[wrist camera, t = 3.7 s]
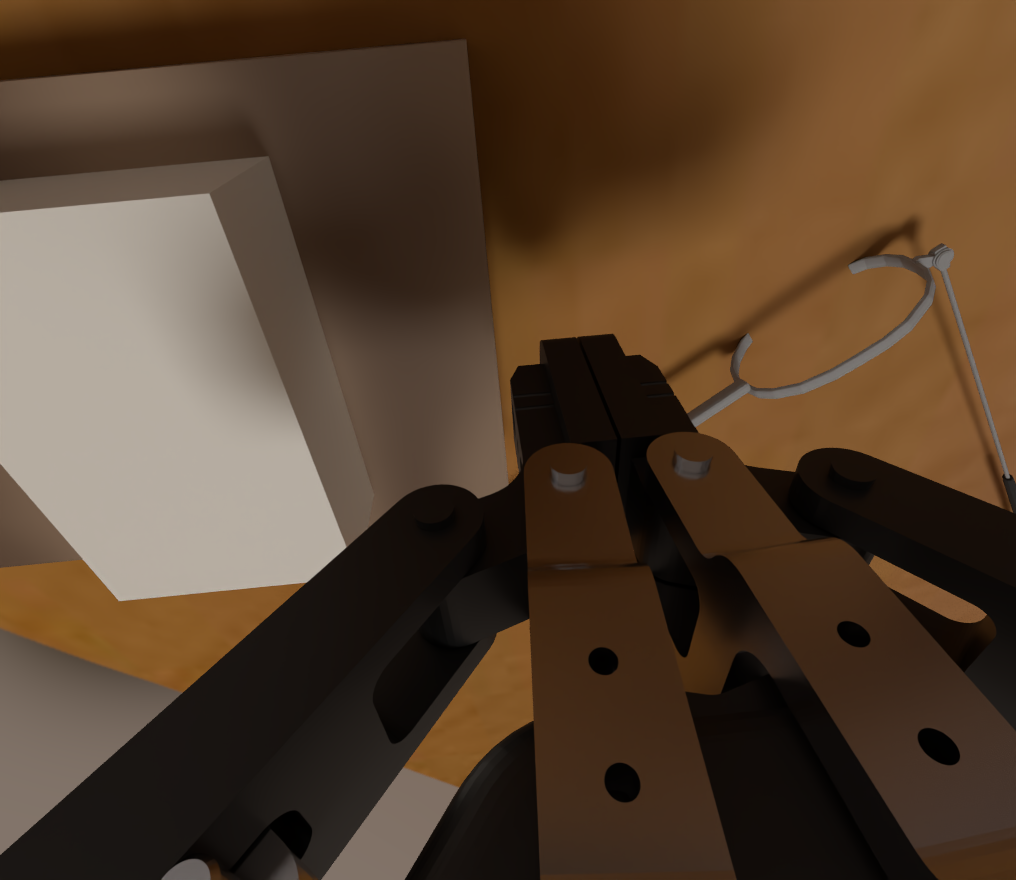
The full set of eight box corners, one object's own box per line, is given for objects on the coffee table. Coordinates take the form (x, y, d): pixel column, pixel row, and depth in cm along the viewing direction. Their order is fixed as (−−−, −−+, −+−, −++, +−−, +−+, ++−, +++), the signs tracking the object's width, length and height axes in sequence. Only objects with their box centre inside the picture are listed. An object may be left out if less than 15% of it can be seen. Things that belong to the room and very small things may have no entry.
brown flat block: (465, 38, 12) (465, 40, 9) (503, 439, 20) (511, 516, 17) (-307, 107, 12) (-575, 132, 9) (21, 486, 20) (-64, 573, 16)
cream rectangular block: (268, 156, 10) (208, 193, 8) (373, 494, 16) (357, 577, 13) (-45, 185, 10) (-202, 231, 8) (171, 514, 16) (118, 601, 13)
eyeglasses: (896, 210, 16) (1003, 257, 13) (1000, 511, 26) (1076, 579, 23) (467, 507, 23) (470, 585, 19) (680, 658, 32) (704, 726, 29)
